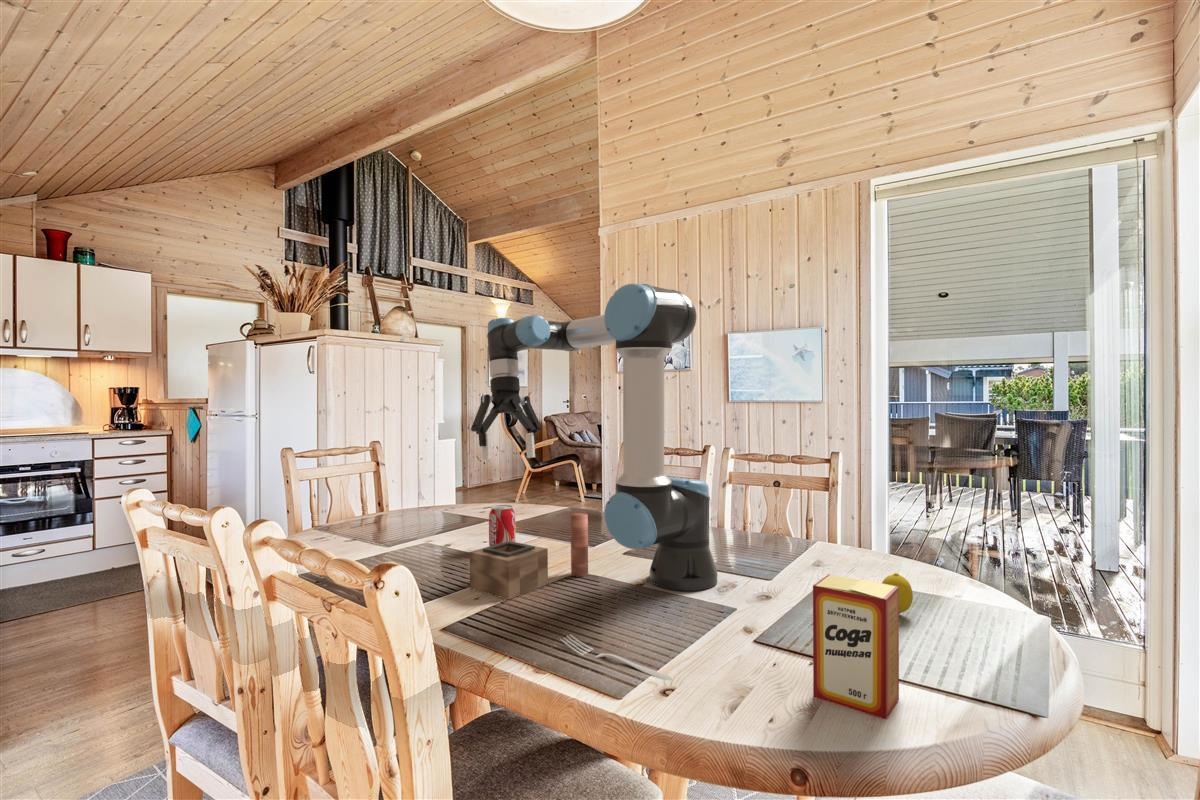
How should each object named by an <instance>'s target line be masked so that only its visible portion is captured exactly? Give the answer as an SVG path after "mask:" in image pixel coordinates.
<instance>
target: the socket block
mask: <svg viewBox="0 0 1200 800" xmlns="http://www.w3.org/2000/svg"><path fill="white" fill-rule="evenodd" d="M548 551H549V549H548V548H546V547H541V546H537V545H531V544H526V543H522V542H517V541H515V542H512V541H507V542H504V543H500V544H497V545H493V546H486V547H482V548H480V549H475V550H471V551H470V552H469V589H470V588H471V590H473V589H475V591H477V590H479V591H478V592H481V591H482V592H481V593H484V592H485V594H488V593H489V594H488V595H491V594H492V596H495V595H496V596H495V597H498V596H500V597H499V598H502V597H503V599H505V598H506V600H512V599H514V598H516V596H517V597H519V596H522V595H525V594H527V593H530V592H533V591H534V590H538V589H539V588H542V586H543V587H545V586H548V585H547V584H549V563H548V559H549V557H548V556H549V555H548V554H549V553H548ZM537 588H538V589H537ZM513 597H514V598H513ZM511 598H512V599H511Z"/></svg>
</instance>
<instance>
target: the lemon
mask: <svg viewBox="0 0 1200 800" xmlns="http://www.w3.org/2000/svg"><path fill="white" fill-rule="evenodd" d="M881 583H882V584H887V585H892V586H897V587H899V615H901V614H902V613H905V612H907V611H908V610H909V609H910V608H911V606H912V603H913V600H914V599H913V597H914V596H913V589H912V585H911V584H910V582H909V581H908V580H907V578H906V577H904V576H903V575H900V574H899V573H898V572H894V573H892V574H890V575H887V576H886V577H885V578H884V579H883V580H882V582H881Z"/></svg>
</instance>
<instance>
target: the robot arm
mask: <svg viewBox="0 0 1200 800" xmlns="http://www.w3.org/2000/svg"><path fill="white" fill-rule="evenodd" d="M696 324H697V309H696V306H695V304H694V303H693V301H692V300H691V298H689V296H687V295H686V294H685V293H682V292H681V291H679V290H675V289H669V288H663V287H658V286H654V285H651V284H646V283H627V284H625V285H622V286H620V287H619V288H618V289H616V290H615V291H614V292H613V295H611V296H610V297H609V299H608V301H607V303H606V306H605V311H604V314H602V315H601V314H600V315H596V316H589V317H584V318H579V319H573V320H567V321H552V320H547V319H546V318H544V317H543V316H542V315H540V314H532V315H526V316H524V317H522V318H521V319H518V320H514V319H512V318H509V317H499V318H493V319H491V320H489V321H488V323H487V334H486V335H487V336H486V338H487V346H488V347H487V348H488V361H489V362H488V363H489V376H490V381H489V383H490V392H491V395H490V394H484V395H481V396H480V405H479V407H478V410H477V411H476V414H475V417H474V421H472V425H471V428H470V430H471V432H475V434H476V435H478V445H479V447H481V455H482V461H488V460H492V455H491V451H492V449H491V434H490V433H489V432H488V430H489V429H490V428H491V426H492V424H494V421H495V420H496V418H497V417H498V415H499V414H504V413H505V414H512V415H513V416H514V417H515V418H516V419H517V420H518V421H519V423H520V425H521V426H522V427H523V428H524V429H525V431H526V432H527V433H525V434H524V435H525V450H526V459H531V458H536V449H535V446H536V445H537V435H536V434H537V432H539V431H541V430H542V429H543V428H542V426H541V423H540V420H539V418H538V417H537V415H536V412H535V411H534V408H533V407H532V403H531V398H530V396H529V395H525V396H522V397H521V396H520V390H521V386H520V378H519V377H518V376H519V375H520V371H519V358H518V352H520V351H524V350H529V349H532V350H533V349H535V350H555V351H564V352H577V351H579V350H581V349H584V348H592V347H593V348H594V347H600V346H601V347H603V346H610V345H615V352H616V353H617V354H618V355H620V356H621V358H622V466H623V467H622V473H621V474H620V476H618V478H617V479H616V480H615V494H613V495H611V496H610V497H609V498H608V501H606V503H605V506H604V511H603V512H604V521H605V525H606V528H607V530H608V532H609V534H610V535H611V536H612V537H613V539H614V541H616V542H617V543H618V544H619V545H621V546H623V548H626V549H632V550H635V549H636V550H637V549H641V548H642V549H643V548H645V549H646V548H650V547H651V546H653V545H656V549H655V552H654V554H653V559H652V560H651V565H650V568H649V580H650V582H651V583H652V584H653V585H655V586H657V587H660V588H662V589H667V590H673V591H674V590H675V591H684V592H686V591H687V592H688V591H689V592H690V591H701V590H707V589H711V588H712V587H714V586H716V585H717V583H718V570H717V567H716V563H715V560H714V557H713V554H712V551H711V549H710V500H711V497H710V492H709V491H710V489H709V485H708V484H707V482H705V481H703V480H698V479H689V478H683V477H682V478H680V477H679V478H678V477H668V476H667V475H666V474H665V358H666V357H667V356H668V355H669V354H670V353H671V352H672V350H673V349H672V347H673V346H672V344H676V343H681V342H682V341H684V340H685V339H687V338H688V337H689V336H690V335H691V334H692V332H693V331H694V329H695V326H696ZM491 403H492V407H491V409H490V411H489V413H488V415H487V412H488V409H489V408H490V407H489V406H490V404H491ZM486 415H487V416H486Z"/></svg>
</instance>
